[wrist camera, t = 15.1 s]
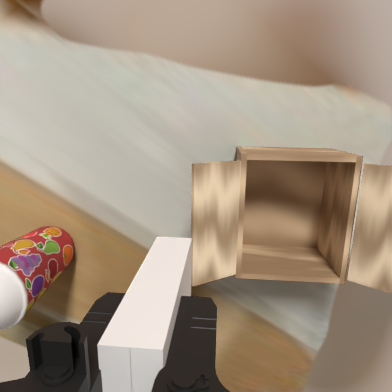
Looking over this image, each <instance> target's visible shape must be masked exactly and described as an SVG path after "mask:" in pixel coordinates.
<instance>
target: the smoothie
mask: <svg viewBox="0 0 392 392" xmlns="http://www.w3.org/2000/svg"><path fill="white" fill-rule="evenodd" d="M73 256H74V243H73V240H72V238H71V237H70V235H69V234H68V233H67V232H66V231H64V230H62V229H60V228H56V227H49V226H46V227H41V228H39V229H36V230H34V231H32V232H30V233H28V234H26V235H24V236H22V237H19V238H17V239H15V240H13V241H11V242H9V243H7V244H5V245H2V246H0V330H3V329H8V328H10V327H12V326H14V325H16V324H17V323H18V322H19V321H20V320H21V319H22V318H23V317H24V315H25V314H26V312H27V311H28V310H29V309H30V308H31V307H32V306H33V305H34V303H35V302H36V301H37V300H38V299H39V298H40V297H41V295H42V294H43V293H44V292H45V291H46V290H47V289H48V288H49V286H50V285H51V284H52V283H53V282H54V281H55V280H56V279H57V277H58V276H59V275H60V274H61V273H62V272H63V271H64V269H65V268H66V267H67V266H68V265H69V264H70V262H71V261H72V259H73Z"/></svg>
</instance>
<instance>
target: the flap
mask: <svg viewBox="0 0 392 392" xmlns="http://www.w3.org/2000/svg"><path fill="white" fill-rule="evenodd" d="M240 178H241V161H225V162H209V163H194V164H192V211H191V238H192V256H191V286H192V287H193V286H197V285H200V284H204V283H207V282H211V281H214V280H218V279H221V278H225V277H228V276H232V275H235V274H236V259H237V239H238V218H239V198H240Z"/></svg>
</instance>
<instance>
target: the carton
mask: <svg viewBox="0 0 392 392" xmlns="http://www.w3.org/2000/svg"><path fill="white" fill-rule="evenodd" d="M236 161H241V178H240V198H239V218H238V239H237V259H236V274H235V278H245V279H264V280H284V281H303V282H322V283H341V284H343V283H344V284H345V279H346V272H347V265H348V258H349V252H350V245H351V238H352V231H353V224H354V217H355V210H356V203H357V196H358V189H359V182H360V175H361V168H362V161H363V156H360V155H356V154H352V153H348V152H343V151H339V150H335V149H329V148H280V147H237V157H236Z"/></svg>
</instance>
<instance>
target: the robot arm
mask: <svg viewBox="0 0 392 392" xmlns="http://www.w3.org/2000/svg"><path fill="white" fill-rule="evenodd" d="M191 256H192V238H176V237H157V238H156V240H155V242H154V243H153V245H152V247H151V249H150V251H149V252H148V254H147V256H146V258H145V260H144V261H143V263H142V265H141V267H140V269H139V271H138V272H137V274H136V276H135V278H134V280H133V281H132V283H131V285H130V287H129V289H128V290H127V292H126V293H110V292H108V293H106V294H105V295H103V296H102V297H101V298H99V299H98V300H96V301H95V303H94V304H93V306H92V307H91V309H90V310H89V313H87V314H86V316H85V317H84V319H83V321H82V322H81V323H80V324H76V323H71V322H62V323H55V324H52V325H48V326H45V327H43V328H41V329H39V330H37V331H35V332H34V333H33V334H32V335H30V336H29V337H28V338H27V339H26V344H27V351H28V357H29V365H30V372H29V373H28V374H27V375H26V377H25V378H21V379H18V380H12V381H7V382H2V383H0V392H230V391H228V390H227V389H226V388H225V387H224V386H223V385H222V384H221V382H220V381H219V379H218V377H217V375H216V370H215V354H216V321H217V307H216V305H215V303H214V302H213V300H212V298H210V297H194V296H191Z"/></svg>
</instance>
